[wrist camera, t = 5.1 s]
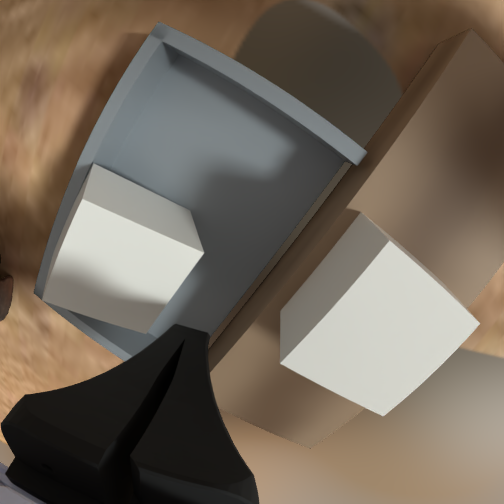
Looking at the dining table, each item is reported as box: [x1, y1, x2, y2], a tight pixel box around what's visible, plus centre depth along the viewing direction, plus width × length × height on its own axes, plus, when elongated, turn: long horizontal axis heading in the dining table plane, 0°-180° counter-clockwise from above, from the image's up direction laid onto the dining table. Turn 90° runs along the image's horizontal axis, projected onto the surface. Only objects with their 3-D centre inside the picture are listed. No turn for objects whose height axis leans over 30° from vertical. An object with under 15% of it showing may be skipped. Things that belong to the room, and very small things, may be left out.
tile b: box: [280, 212, 480, 416], centre depth 10 cm, size 4×4×3 cm
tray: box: [34, 22, 367, 361], centre depth 13 cm, size 9×13×2 cm, turn 146°
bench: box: [208, 28, 504, 449], centre depth 12 cm, size 7×19×3 cm, turn 146°
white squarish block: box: [42, 163, 204, 334], centre depth 12 cm, size 4×4×3 cm
